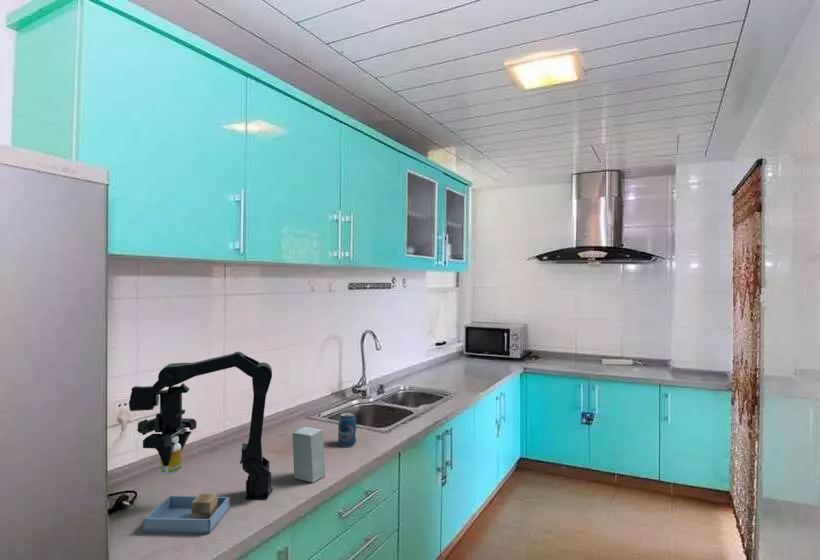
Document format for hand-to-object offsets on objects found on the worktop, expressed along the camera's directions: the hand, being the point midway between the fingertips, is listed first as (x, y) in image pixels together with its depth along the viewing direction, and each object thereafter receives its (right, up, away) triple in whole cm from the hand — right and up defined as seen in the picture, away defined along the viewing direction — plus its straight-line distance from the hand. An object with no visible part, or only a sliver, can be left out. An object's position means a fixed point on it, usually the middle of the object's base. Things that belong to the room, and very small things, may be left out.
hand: (171, 462), depth 142 cm
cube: (+13, -12, -8) cm, 19 cm away
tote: (+9, -12, -9) cm, 18 cm away
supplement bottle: (0, -3, 0) cm, 3 cm away
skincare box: (+36, -13, +20) cm, 43 cm away
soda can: (+44, -12, +51) cm, 69 cm away
